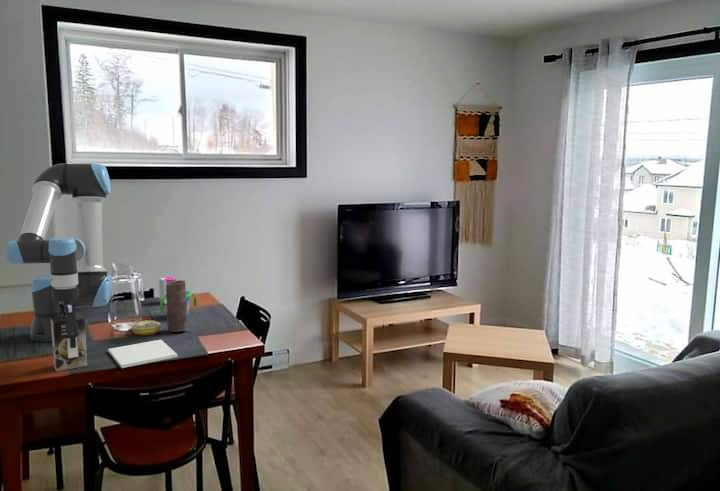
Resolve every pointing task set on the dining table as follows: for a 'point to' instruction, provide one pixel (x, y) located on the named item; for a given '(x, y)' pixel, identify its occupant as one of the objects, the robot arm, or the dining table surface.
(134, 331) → the decorated donut
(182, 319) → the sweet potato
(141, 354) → the pad
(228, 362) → the dining table surface
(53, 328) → the coffee box
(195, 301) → the snack cup
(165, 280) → the supplement box
